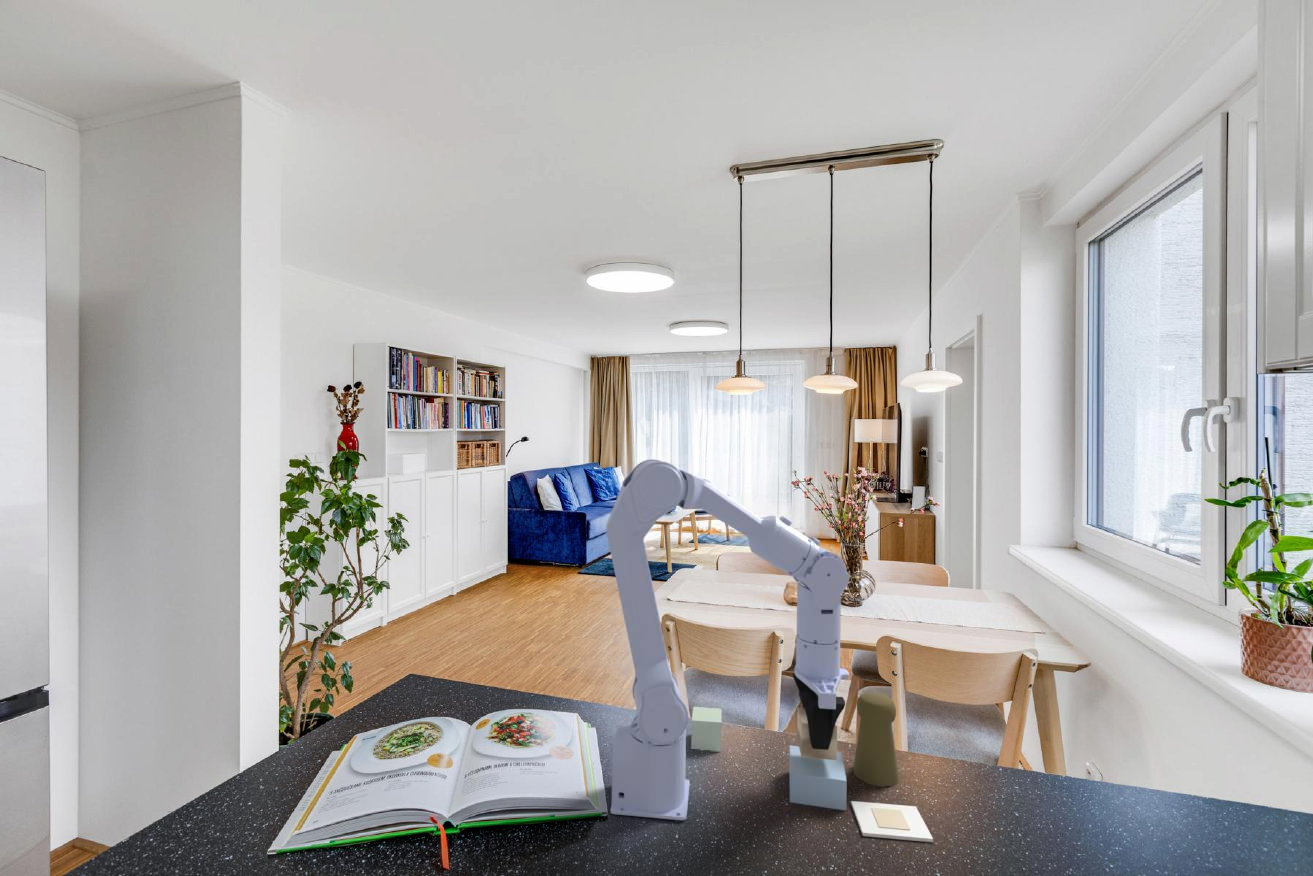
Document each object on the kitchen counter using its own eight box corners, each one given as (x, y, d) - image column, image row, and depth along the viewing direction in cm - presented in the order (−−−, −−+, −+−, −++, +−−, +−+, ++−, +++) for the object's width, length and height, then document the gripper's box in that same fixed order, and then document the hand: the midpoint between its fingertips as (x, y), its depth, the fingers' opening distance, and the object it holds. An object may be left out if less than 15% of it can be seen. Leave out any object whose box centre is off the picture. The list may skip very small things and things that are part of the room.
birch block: (801, 757, 74) (801, 722, 74) (797, 739, 79) (797, 707, 79) (836, 760, 74) (837, 725, 74) (830, 742, 78) (830, 709, 78)
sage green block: (691, 750, 86) (691, 720, 86) (692, 735, 90) (693, 706, 90) (721, 752, 85) (721, 722, 85) (721, 737, 90) (721, 708, 90)
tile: (862, 835, 67) (862, 831, 67) (851, 804, 73) (851, 800, 73) (933, 842, 66) (933, 838, 66) (915, 809, 72) (915, 805, 72)
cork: (903, 789, 77) (904, 708, 77) (856, 783, 78) (857, 703, 78) (893, 764, 83) (894, 689, 83) (850, 759, 84) (851, 685, 84)
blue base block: (789, 804, 74) (790, 773, 74) (789, 773, 80) (789, 745, 80) (846, 812, 72) (846, 780, 72) (841, 780, 79) (841, 751, 79)
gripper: (862, 659, 69) (860, 771, 69) (837, 622, 83) (836, 714, 83) (802, 655, 70) (801, 766, 69) (788, 619, 84) (787, 711, 84)
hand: (816, 738), depth 76 cm, fingers closed on birch block, 4 cm apart
